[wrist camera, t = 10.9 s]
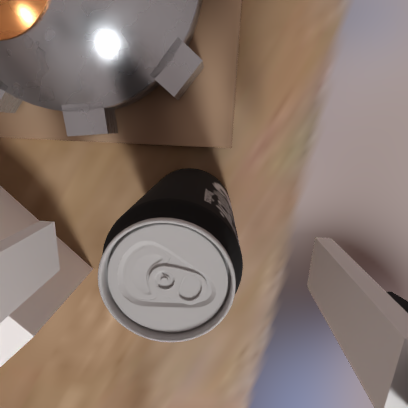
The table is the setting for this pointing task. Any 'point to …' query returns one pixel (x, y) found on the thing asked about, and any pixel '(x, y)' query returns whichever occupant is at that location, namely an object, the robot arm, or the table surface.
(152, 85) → the sprocket
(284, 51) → the table surface
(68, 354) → the table surface
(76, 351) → the table surface
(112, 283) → the beverage can
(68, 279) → the tissue box
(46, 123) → the board
